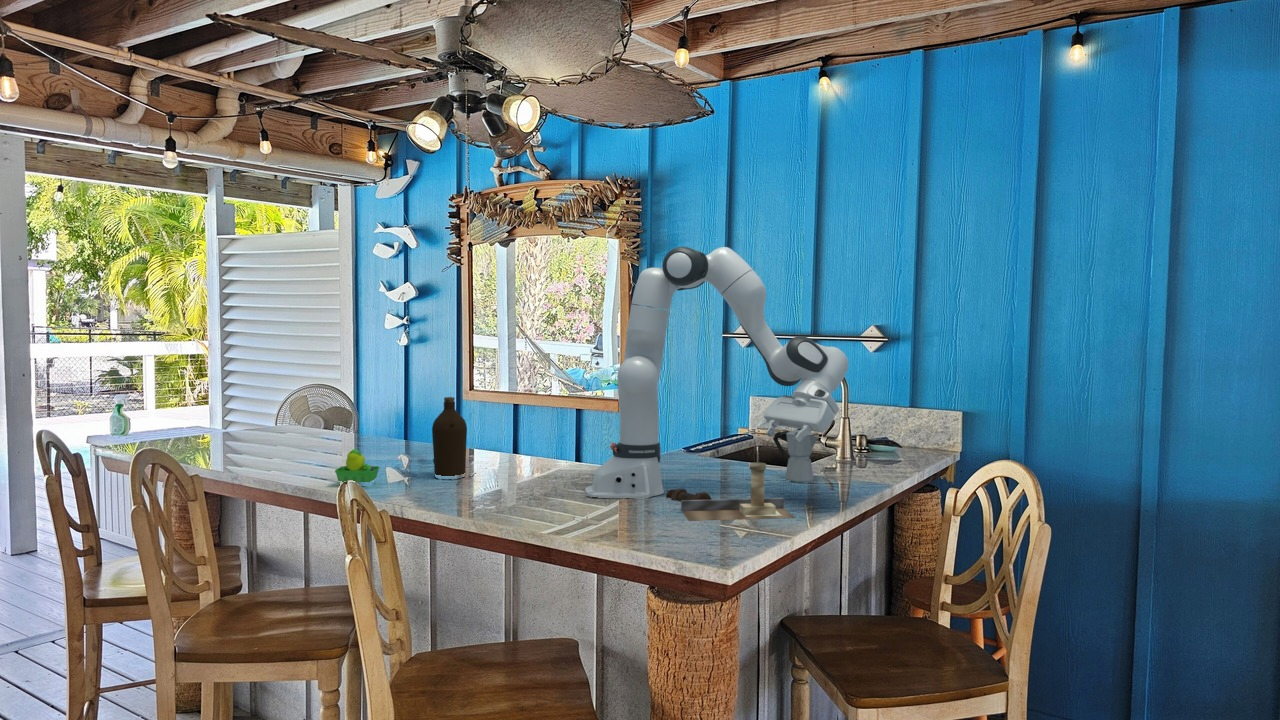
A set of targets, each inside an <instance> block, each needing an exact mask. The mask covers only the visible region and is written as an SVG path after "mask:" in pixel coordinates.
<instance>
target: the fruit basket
mask: <svg viewBox="0 0 1280 720" xmlns="http://www.w3.org/2000/svg"><path fill="white" fill-rule="evenodd" d="M365 461H366V457H365V456H364V455H363V454H362V453H361V452H360V451H359V450H358V448H354V449H351V450H350V451H349V452H348V453H347V456H346V461H345V466H343V465H342V466H340V467H338V468H336V469H335V470H334V473H335V474H336V477H337V482H338V481H342V482H344V481H347V480H353V481H356V482H358V481H359V482H370V481H372V480H374V479H375V478H376V479H377V476H378V472H379V471H380V466H378V465H375V466H373V465H371V464H368V463H365ZM359 482H358V483H359Z"/></svg>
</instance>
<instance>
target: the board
mask: <svg viewBox="0 0 1280 720" xmlns="http://www.w3.org/2000/svg"><path fill="white" fill-rule="evenodd" d="M711 499H712V498H711ZM750 503H751V498H723V499H721V498H720V499H718V498H717V499H716V498H715V499H712V500H681V501H680V511H681V513H682V514H683V516H685V518H686V519H687V521H689V522H698V521H729V520H733V521H734V520H770V519H774V520H775V519H796V517H795V516H794V515H793V514H791V513H790V511H787V510H786V509H785V508H784V507H785V505H784V503H785V498H784V497H764V503H772V504H773V505H774V506H776V514H775V515H746V516H744V515H743V514H741V513H740V512H739V511H740V504H750Z"/></svg>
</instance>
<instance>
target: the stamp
mask: <svg viewBox="0 0 1280 720" xmlns="http://www.w3.org/2000/svg"><path fill="white" fill-rule="evenodd" d="M766 469H767V463H765V462H750V463H749V470H750V499H751V503H750V504H740V511H739V512H740V513H741V514H743V515H744V516H746V515H775V514H776V506H774V505H773V504H772V503H764V498H765V471H766Z"/></svg>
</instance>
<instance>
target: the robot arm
mask: <svg viewBox="0 0 1280 720" xmlns="http://www.w3.org/2000/svg"><path fill="white" fill-rule="evenodd" d="M706 282H707V283H709V284H711V285H712V286H713V287H714V289H716V291H717V292H718V293H719V294H720V296H722V298H723V299H724V300H725V302H726V303H727V304H728V306H729V308H731V310H732V312H733V313H734V315H735V316H736V318H737V320H738V323H739V324H740V327H741V328H742V329H743V332H744V333H745V334H746V335H747V337H748V339H749V340H750V341H751V343H752V344H753V346H754V347H755V349H756V350H757V351H758V353H759V354H760V356H761V357H762V359H763V361H764V363H765V366H766V369H767V371H768V374H769V376H770V378H771V379H772V381H774V382H775V383H776V384H777V385H780V386H782V387H792V386H795V385H797V386H796V388H795V389H794V390H793V392H792V394H791V395H787V394H784V395H782V396H779V397H777V398H775V399H774V400H773V401H772V402H771V404H769V406H768V407H767V408H766V409H765V410H764V411H763V418H764V420H765V421H766V423H768V429H767V430H766V431H765V434H766V435H767V437H771V438H774V436H775V434H776V433H777V432H776V431H775V429H777V428H778V427H779V426H780V427H786V428H792V429H796V430H797V429H802V430H800V431H799V432H795V434H794V435H793V439H794V441H797V442H800V441H801V440H802V438H803V437H805V436H807V435H808V434H810V433H812V432H816V433H823V432H826V431H827V430H828V429H829V427H831V424H832V423H833V421H834V419H835V415H836V414H838V413H839V411H840V408H839V406H838V404H837V402H836V401H835V399H834V398H833V396H832V394H833V392H834V391H836V390H837V389H838V388H839V386H840V384H841V383H842V381H843V380H844V378H845V377H846V374H847V372H848V370H849V359H848V357H847V355H846V354H845V352H843V351H842V350H841V349H840V348H838V347H836V346H826V345H821V344H819V343H817V342H815V341H814V340H812V338H810V337H807V336H805V335H804V336H803V335H797V336H794V337H792V338H790V340H789V341H787V342H786V343H785V344H784V345H782V344H781V342H780V341H779V340H778V339H777V337H776V335H775V334H774V333H773V331H772V329H771V328H770V327H769V325H768V324H767V321H766V317H765V304H766V300H767V288H766V285H764V283H763V281H762V279H761V278H760V276H759V274H757V272H755V270H754V269H753V268H752V267H751V265H749V263H747V261H746V260H745V259H743V258H742V257H741V256H740V255H739V254H738V253H737V252H735V251H734V250H733V249H732V248H730V247H728V246H721V247H717V248H715V249H714V250H713V251H711V252H710V253H709V254H705V253H704V252H702V251H699V250H697V249H694V248H692V247H687V246H678V247H674V248H672V249H670V250H668V252H667V253H666V254H665V255H664V257H663V261H662V267H648V268H645V269H643V270H642V271H641V272H640V274H639V275H638V279H637V281H636V284H635V287H634V290H633V296H632V299H631V303H630V310H629V316H628V324H627V327H626V338H625V340H626V341H625V346H624V347H625V348H624V349H625V350H624V357H623V362H622V363H621V364H620V366H619V368H618V371H617V395H618V407H619V409H618V411H619V442H618V443H616V442H612V443H610V445H609V447H610V449H611V451H612V456H611V457H610V458H609V459H607V460H606V461H605V462H604V463H602V464H601V465H599V467H597V468H596V470H595V471H594V474H593V478H592V479H593V480H592V485H589V486H586V487H585V489H584V494H585V493H586V494H587V495H588V496H587V495H586V494H585V495H586V496H587V497H589V496H590V497H589V498H592V497H598V498H597V499H625V498H636V499H635V500H638V499H643V500H645V498H646V499H649V498H652V497H656V496H660V495H663V494H664V493H665V488H664V485H663V481H662V474H661V469H660V468H661V467H660V463H661V454H662V453H661V452H662V451H661V450H662V449H661V443H660V442H659V437H660V435H659V434H660V433H659V430H660V427H659V423H660V421H659V415H660V414H659V413H660V412H659V397H658V396H659V395H658V383H659V381H660V378H661V370H662V364H663V357H664V352H665V344H666V342H665V341H666V337H667V332H668V331H667V330H668V324H669V319H670V313H671V308H672V307H671V306H672V301H673V297H674V295H675V292H676V291H684V290H691V289H693V290H694V289H696V288H698V287H700V286H702V285H703V284H704V283H706Z"/></svg>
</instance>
